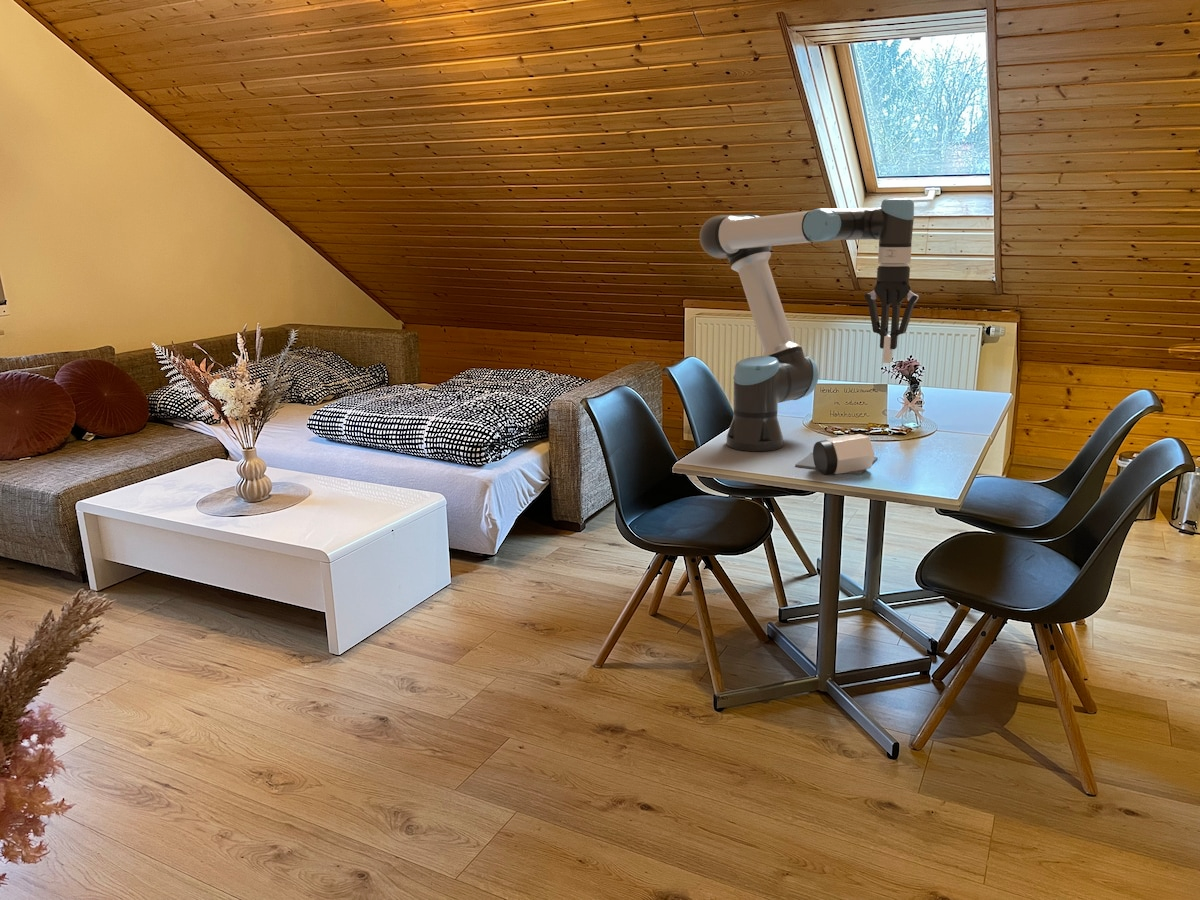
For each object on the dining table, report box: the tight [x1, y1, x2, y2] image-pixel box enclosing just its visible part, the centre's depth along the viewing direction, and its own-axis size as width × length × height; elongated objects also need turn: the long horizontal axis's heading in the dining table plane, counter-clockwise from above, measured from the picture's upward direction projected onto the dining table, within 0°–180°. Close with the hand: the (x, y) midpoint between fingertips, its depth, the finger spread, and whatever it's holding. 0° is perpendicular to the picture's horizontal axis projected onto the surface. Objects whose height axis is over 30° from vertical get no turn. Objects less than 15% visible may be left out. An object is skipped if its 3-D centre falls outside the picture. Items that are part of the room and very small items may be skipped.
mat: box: [794, 452, 878, 476], centre depth 224 cm, size 16×16×1 cm
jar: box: [812, 433, 875, 475], centre depth 216 cm, size 9×8×12 cm
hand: (887, 361), depth 223 cm, fingers closed
